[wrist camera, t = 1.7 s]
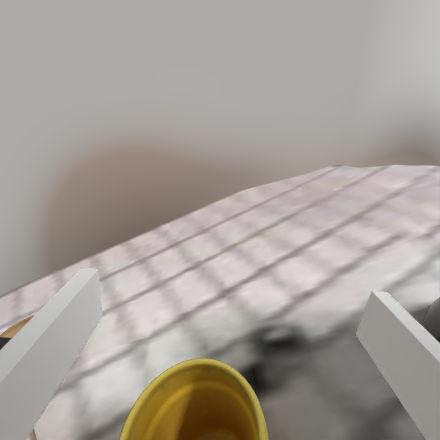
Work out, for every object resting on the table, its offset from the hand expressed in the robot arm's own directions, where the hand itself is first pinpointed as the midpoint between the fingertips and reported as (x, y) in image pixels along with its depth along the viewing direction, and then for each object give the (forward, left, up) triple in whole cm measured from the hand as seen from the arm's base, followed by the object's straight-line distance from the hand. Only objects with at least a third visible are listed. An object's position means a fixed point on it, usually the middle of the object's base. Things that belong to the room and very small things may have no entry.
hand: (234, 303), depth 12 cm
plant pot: (+2, +5, -20) cm, 21 cm away
